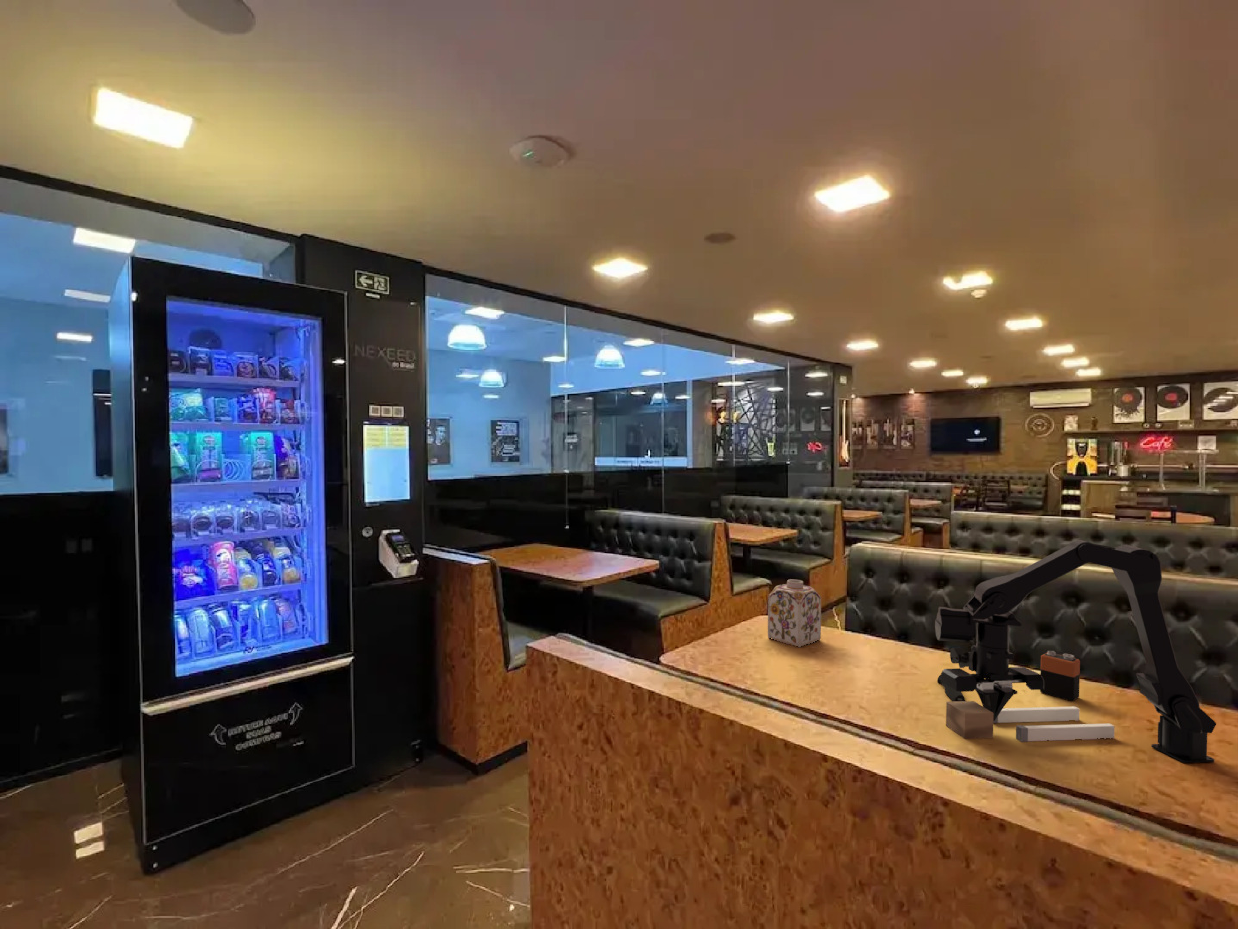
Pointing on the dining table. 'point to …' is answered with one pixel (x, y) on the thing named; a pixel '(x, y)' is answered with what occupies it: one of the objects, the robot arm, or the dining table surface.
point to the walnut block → (969, 719)
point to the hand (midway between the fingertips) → (990, 720)
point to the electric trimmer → (952, 692)
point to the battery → (1060, 675)
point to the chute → (1052, 730)
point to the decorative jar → (794, 614)
